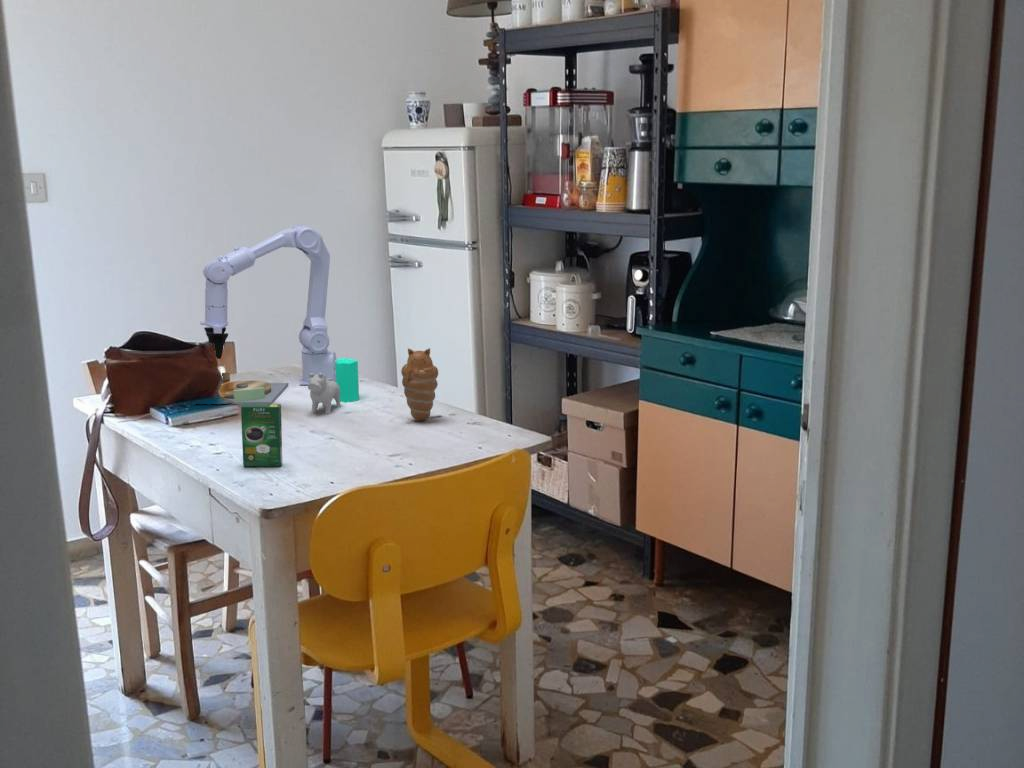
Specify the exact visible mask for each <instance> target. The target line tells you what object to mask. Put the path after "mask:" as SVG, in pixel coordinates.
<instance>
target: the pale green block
mask: <svg viewBox="0 0 1024 768" xmlns="http://www.w3.org/2000/svg"><path fill="white" fill-rule="evenodd" d="M263 398H265V395H264V388H263V387H260V388H254V389H244V390H234V401H249V400H257V399H263Z"/></svg>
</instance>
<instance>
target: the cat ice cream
mask: <svg viewBox="0 0 1024 768" xmlns="http://www.w3.org/2000/svg"><path fill="white" fill-rule="evenodd" d="M407 355H408V358H407V362H406V363H405V364H404V365H403V366H402V367H401V370H400V373H401V376H402V379H401V384H402V386H403V388H404V389H403V392H404V396H405V398H406V403H407V406H408V408H409V409H410V415H411V417H412V418H413V419H414V420H415V421H418V422H423V421H425V420H427V419H429V418H430V416H431V410H432V409H433V408H434V407H433V406H434V400H435V399H436V392H435V391H436V389H437V388H438V381H437V378H438V376H439V369H438V367H437V366H435V365H434V363H433V360H432V357H431V356H430V355H431V348H427V349H425V350H413V349H411V348H407Z"/></svg>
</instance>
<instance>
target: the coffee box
mask: <svg viewBox="0 0 1024 768" xmlns="http://www.w3.org/2000/svg"><path fill="white" fill-rule="evenodd" d="M240 413H241V415H240V416H241V417H240V418H241V419H240V421H241V441H242V442H241V445H242V465H243V466H248V467H247V468H255V467H256V468H257V467H262V468H263V467H269V468H274V467H275V466H276V467H280V466H281V467H282V465H283V438H282V437H283V434H282V433H283V429H282V405H281V403H272V404H243V405H240ZM243 466H242V467H243ZM249 466H250V467H249ZM251 466H252V467H251ZM253 466H255V467H253Z"/></svg>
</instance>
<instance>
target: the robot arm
mask: <svg viewBox="0 0 1024 768" xmlns="http://www.w3.org/2000/svg"><path fill="white" fill-rule="evenodd" d="M281 248H296V249H298V250H299V251H301V252H302V253H303V255H305V256H306V257H307V258H308V260H309V261H310V266H309V278H308V279H309V280H308V293H307V303H306V304H307V305H306V316H305V318H304V320H303V324H302V328H301V330H300V332H299V334H298V341H299V343H300V344H301V345H302V349H301V365H302V366H301V367H302V380H301V381H300V382H299V386H308V385H309V374H310V373H313V374H319V373H322V374H323V375H326V379H328V378H332V381H334V382H336V367H335V360H337V355H336V352H335V351H329V349H328V347H329V346H330V337H329V335H328V325H327V321H326V308H327V297H328V285H329V275H330V272H329V271H330V264H331V263H330V262H331V261H330V260H331V255H330V252H329V251H328V248H327V246H326V244H325V242H324V240H323V236H322V235H321V233H319V232H318V231H317V230H316V229H315V228H314V227H310V226H305V225H302V224H296V225H293V226H292V227H288V228H285V229H283V230H281V231H279V232H277V233H275V234H273V235H272V236H270V237H268V238H266V239H264V240H262V241H261V242H259V243H258V244H255V245H253V246H252V247H250V248H248V247H246V246H241V247H240V246H235V247H234V248H233V251H231V252H228V253H226V254H225V255H218V256H217V259H218V260H215V259H214V260H210V261H208V262H207V263H206V264H205V266H204V268H203V270H202V273H203V276H204V277H205V289H204V291H205V292H204V296H205V297H204V298H205V299H204V306H205V307H204V321H203V320H202V321H200V323H199V324H200V325H201V326H206V327H203V328H204V331H205V335H206V336H207V338H208V343H209V342H210V343H214V344H215V350H216V357H217V359H218V360H221V359H222V356H223V351H224V346H225V343H226V341H227V338H228V336H229V333H228V332H227V333H226V330H227V328H226V327H228V326H229V322H228V299H229V298H228V281H229V280H230V279H231V278H230V277H231V276H232V277H234V276H236V275H237V274H239V273H241V272H243V271H245V270H247V269H249V268H251V267H253V266H254V265H255V262H256V261H257V259H259V258H262V257H263V256H265V255H267V254H270V253H272V252H275V251H276V250H279V249H281ZM217 359H216V360H217Z"/></svg>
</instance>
